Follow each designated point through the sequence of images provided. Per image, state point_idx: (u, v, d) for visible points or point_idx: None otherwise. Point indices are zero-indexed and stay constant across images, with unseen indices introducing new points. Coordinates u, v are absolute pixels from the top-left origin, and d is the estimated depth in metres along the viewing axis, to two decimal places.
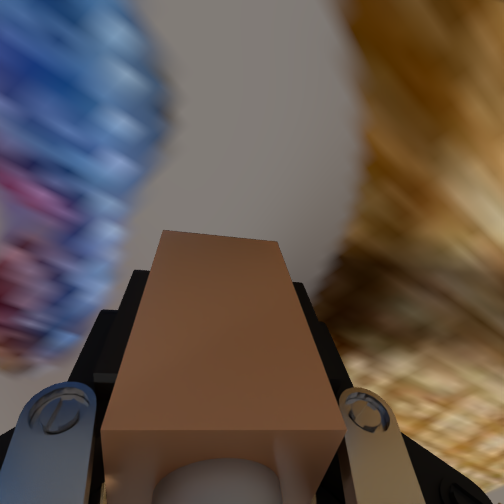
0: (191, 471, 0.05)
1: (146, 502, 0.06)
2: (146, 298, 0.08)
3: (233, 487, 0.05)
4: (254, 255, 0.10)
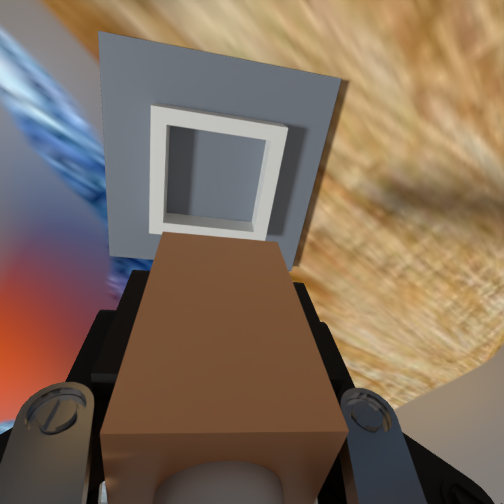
0: (192, 474, 0.05)
1: None
2: (146, 299, 0.08)
3: (234, 490, 0.05)
4: (254, 256, 0.10)
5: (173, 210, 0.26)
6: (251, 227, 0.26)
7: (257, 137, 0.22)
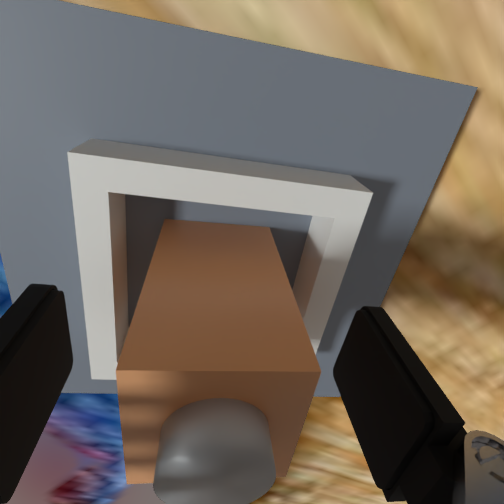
0: (191, 408, 0.07)
1: (155, 440, 0.07)
2: (150, 273, 0.09)
3: (226, 418, 0.06)
4: (247, 238, 0.11)
5: None
6: None
7: (307, 213, 0.10)
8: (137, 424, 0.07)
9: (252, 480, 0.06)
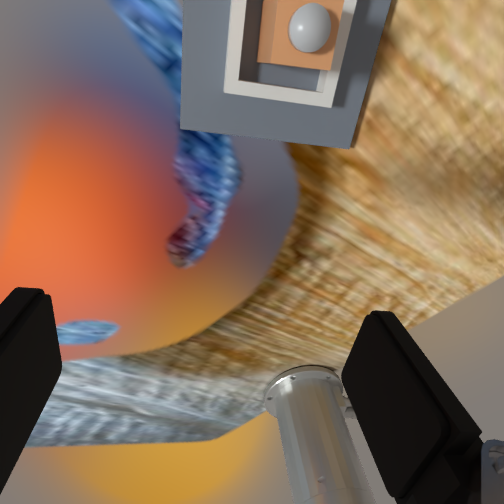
0: (301, 6, 0.19)
1: (285, 31, 0.20)
2: None
3: None
4: None
5: (243, 76, 0.27)
6: (318, 92, 0.27)
7: None
8: (281, 18, 0.19)
9: (323, 29, 0.19)
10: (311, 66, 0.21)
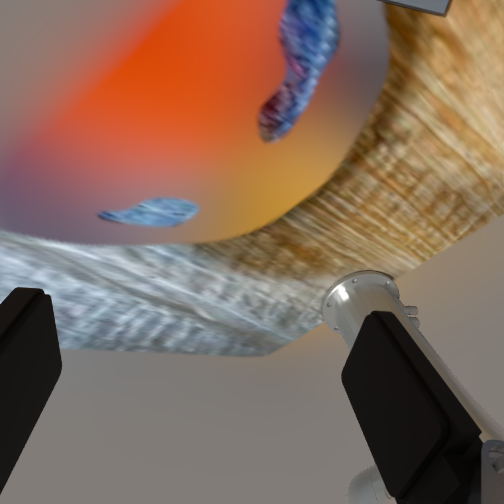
0: None
1: None
2: None
3: None
4: None
5: None
6: None
7: None
8: None
9: None
10: None
